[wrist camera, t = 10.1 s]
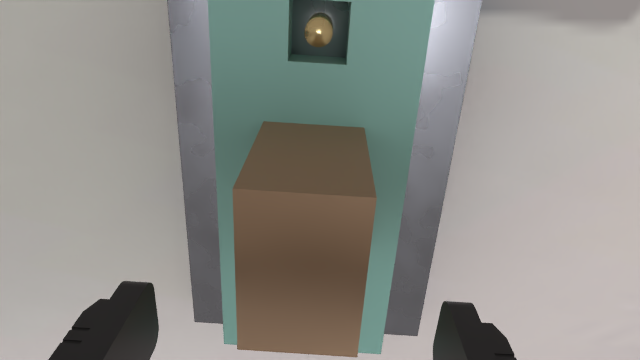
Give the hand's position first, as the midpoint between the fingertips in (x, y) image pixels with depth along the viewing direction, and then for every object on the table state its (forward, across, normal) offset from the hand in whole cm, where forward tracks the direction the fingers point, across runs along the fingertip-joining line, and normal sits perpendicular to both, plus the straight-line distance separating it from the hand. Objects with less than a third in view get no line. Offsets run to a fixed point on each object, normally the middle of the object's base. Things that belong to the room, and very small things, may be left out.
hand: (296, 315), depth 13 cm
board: (+9, 0, 0) cm, 9 cm away
